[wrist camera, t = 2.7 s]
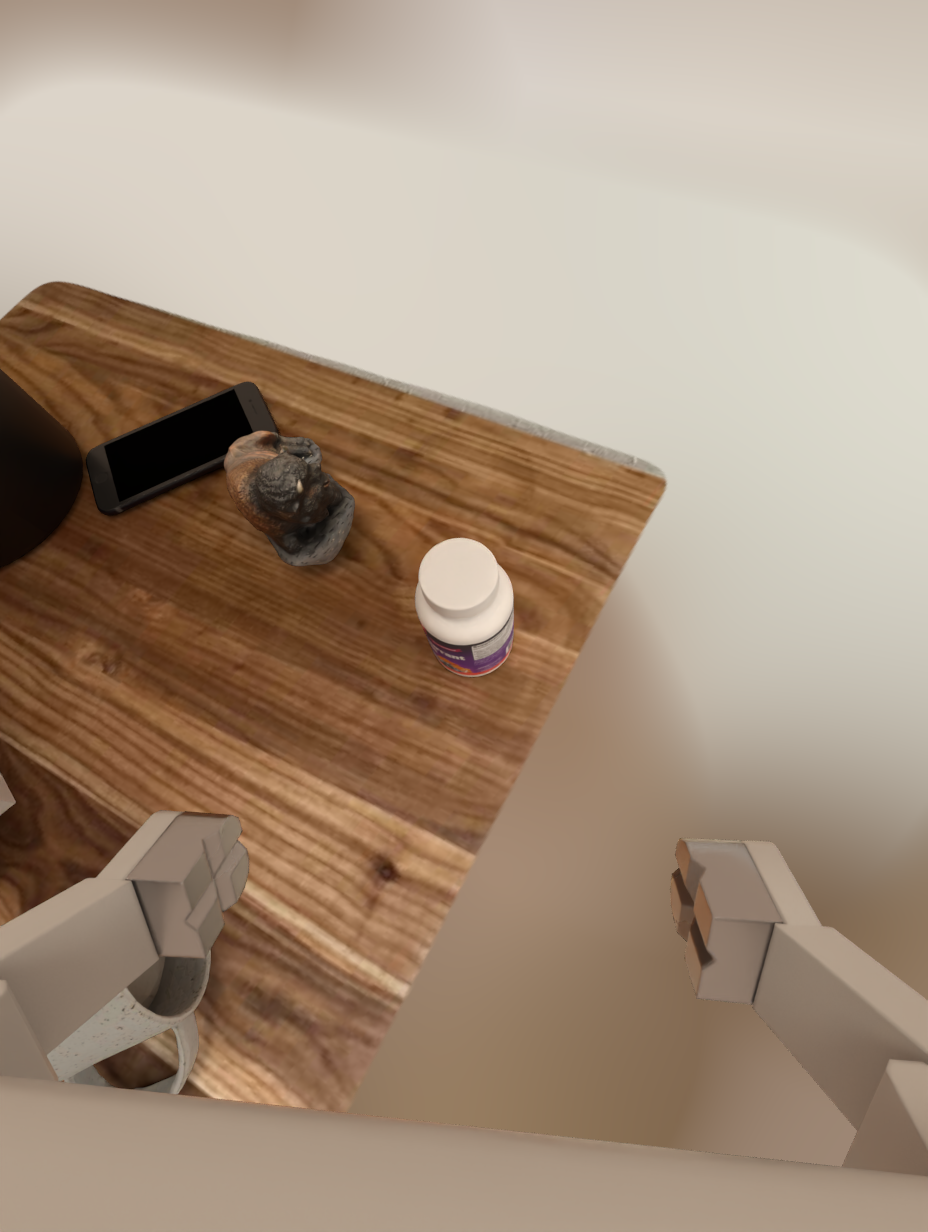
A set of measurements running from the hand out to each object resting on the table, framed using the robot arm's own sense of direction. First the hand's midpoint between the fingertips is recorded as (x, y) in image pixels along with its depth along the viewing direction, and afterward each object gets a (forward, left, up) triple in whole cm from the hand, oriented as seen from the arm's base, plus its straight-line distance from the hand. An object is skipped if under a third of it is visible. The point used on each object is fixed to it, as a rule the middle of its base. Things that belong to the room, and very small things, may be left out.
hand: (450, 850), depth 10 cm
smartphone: (+37, -9, -22) cm, 45 cm away
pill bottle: (+8, -9, -23) cm, 26 cm away
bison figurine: (+24, -10, -23) cm, 35 cm away
